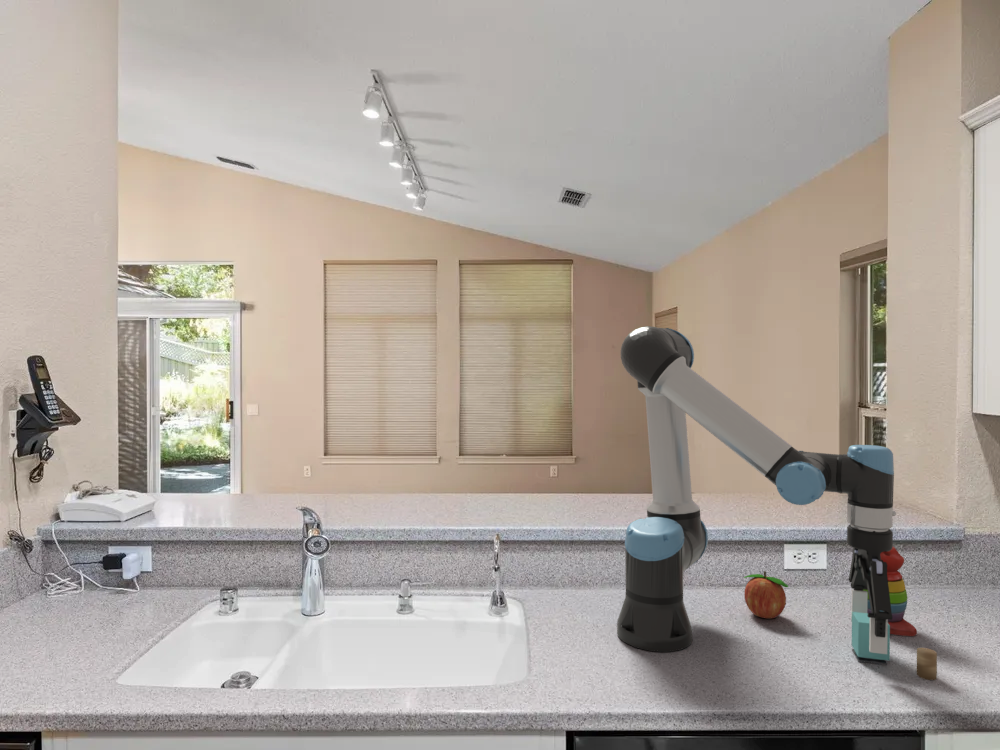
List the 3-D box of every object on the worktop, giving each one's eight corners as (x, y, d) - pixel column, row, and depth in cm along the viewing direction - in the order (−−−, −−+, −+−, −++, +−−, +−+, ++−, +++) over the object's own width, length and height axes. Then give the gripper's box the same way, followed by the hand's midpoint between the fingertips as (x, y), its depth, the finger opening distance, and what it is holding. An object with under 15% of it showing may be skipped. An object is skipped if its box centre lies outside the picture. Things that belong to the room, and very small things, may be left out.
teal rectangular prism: (858, 656, 118) (858, 622, 118) (851, 645, 123) (851, 611, 123) (889, 660, 117) (889, 625, 116) (881, 648, 122) (881, 614, 121)
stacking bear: (920, 637, 129) (921, 551, 128) (866, 633, 131) (867, 548, 130) (898, 617, 139) (899, 537, 139) (848, 613, 141) (849, 535, 141)
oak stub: (920, 678, 112) (920, 653, 112) (914, 671, 115) (914, 646, 115) (939, 681, 111) (939, 656, 111) (933, 673, 114) (933, 648, 114)
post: (858, 661, 118) (858, 624, 118) (852, 650, 123) (852, 615, 123) (887, 665, 117) (887, 628, 117) (879, 653, 121) (879, 618, 121)
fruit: (775, 627, 134) (775, 581, 134) (734, 614, 141) (734, 570, 141) (794, 617, 139) (794, 572, 139) (753, 604, 147) (754, 562, 146)
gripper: (914, 546, 106) (912, 670, 107) (873, 513, 130) (872, 614, 131) (864, 542, 109) (862, 663, 109) (833, 510, 133) (832, 610, 133)
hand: (868, 637), depth 120 cm, fingers open, 13 cm apart
